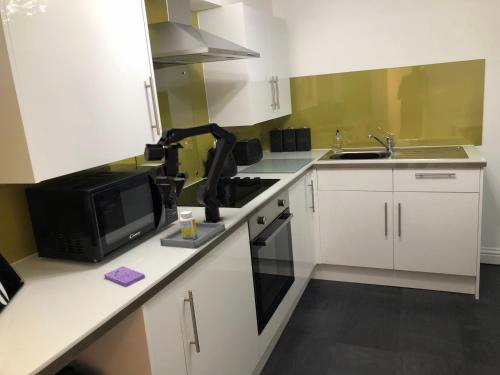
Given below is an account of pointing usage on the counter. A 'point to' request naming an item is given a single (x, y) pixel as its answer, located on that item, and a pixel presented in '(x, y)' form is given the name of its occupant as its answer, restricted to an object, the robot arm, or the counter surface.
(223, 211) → the counter surface
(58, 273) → the counter surface
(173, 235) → the tray
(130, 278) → the sponges
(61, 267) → the counter surface
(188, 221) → the supplement bottle
